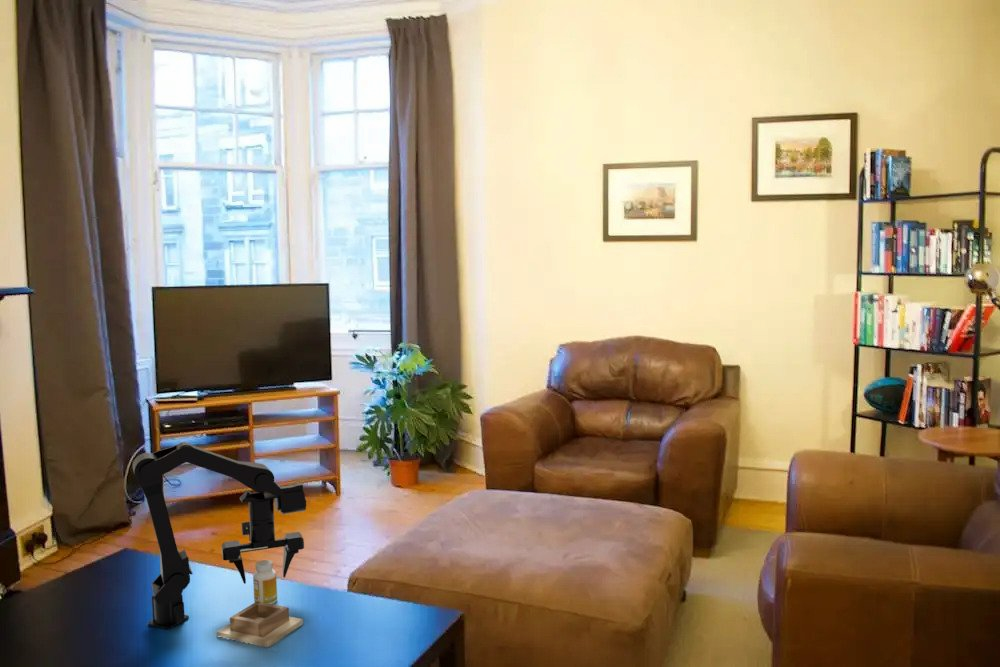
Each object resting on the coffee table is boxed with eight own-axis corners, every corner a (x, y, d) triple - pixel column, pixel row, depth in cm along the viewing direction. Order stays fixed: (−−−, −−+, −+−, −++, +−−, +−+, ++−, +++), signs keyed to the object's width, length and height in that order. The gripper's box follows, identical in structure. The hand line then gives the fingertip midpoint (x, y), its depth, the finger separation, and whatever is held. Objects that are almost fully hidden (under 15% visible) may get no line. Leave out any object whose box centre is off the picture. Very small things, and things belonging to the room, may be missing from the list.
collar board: (216, 637, 177) (215, 618, 177) (253, 614, 188) (252, 597, 188) (268, 647, 172) (267, 628, 171) (302, 624, 183) (301, 606, 182)
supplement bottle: (280, 597, 198) (279, 559, 197) (272, 606, 192) (270, 567, 192) (259, 596, 198) (257, 558, 198) (250, 606, 193) (248, 566, 192)
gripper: (296, 503, 204) (298, 562, 206) (219, 512, 197) (222, 574, 199) (303, 515, 194) (305, 578, 196) (221, 526, 187) (224, 591, 189)
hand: (264, 580), depth 195 cm, fingers open, 9 cm apart
